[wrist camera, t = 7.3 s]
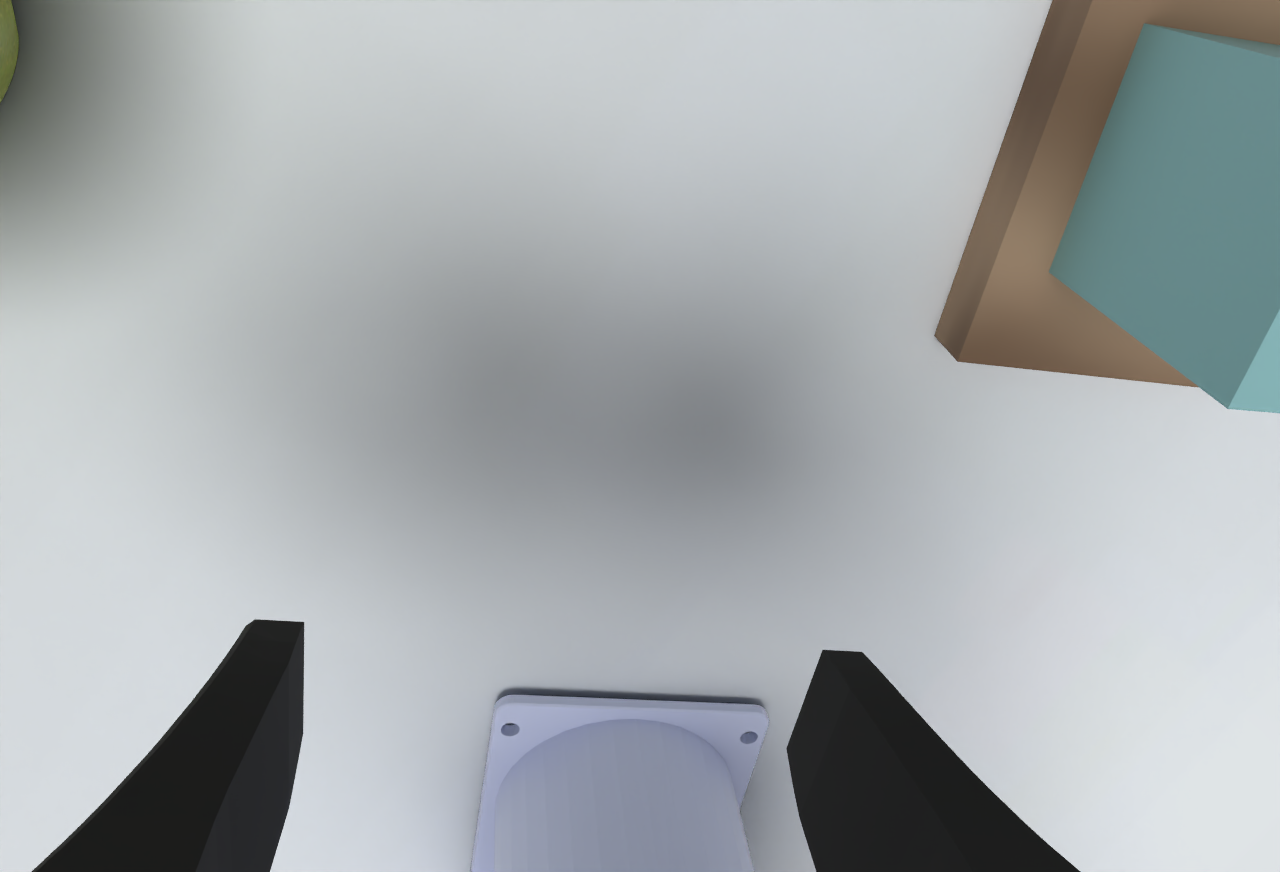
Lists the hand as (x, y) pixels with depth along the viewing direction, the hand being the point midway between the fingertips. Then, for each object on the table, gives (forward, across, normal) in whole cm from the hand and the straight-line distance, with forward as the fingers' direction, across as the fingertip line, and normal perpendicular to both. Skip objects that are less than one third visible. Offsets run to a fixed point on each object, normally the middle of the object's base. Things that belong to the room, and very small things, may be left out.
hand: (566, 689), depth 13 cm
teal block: (+9, -13, -7) cm, 17 cm away
